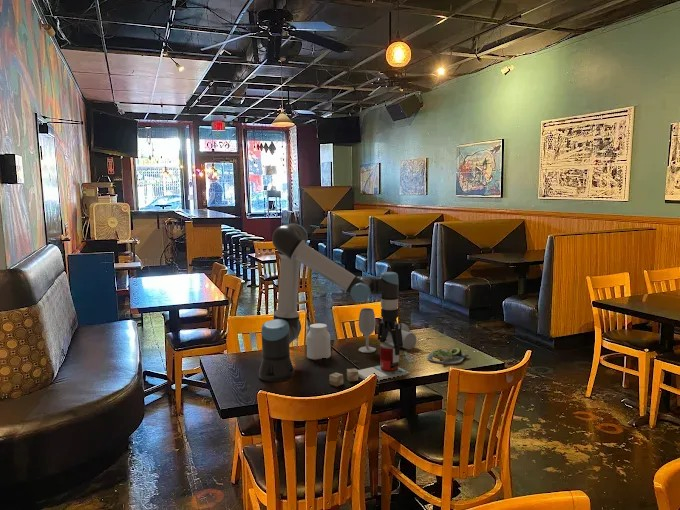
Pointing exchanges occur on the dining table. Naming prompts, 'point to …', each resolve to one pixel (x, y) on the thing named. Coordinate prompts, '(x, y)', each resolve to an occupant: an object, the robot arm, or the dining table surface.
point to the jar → (318, 342)
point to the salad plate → (447, 356)
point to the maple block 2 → (352, 374)
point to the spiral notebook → (380, 373)
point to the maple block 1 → (336, 379)
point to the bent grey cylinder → (405, 337)
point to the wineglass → (367, 327)
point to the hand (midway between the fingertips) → (390, 359)
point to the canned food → (387, 357)
